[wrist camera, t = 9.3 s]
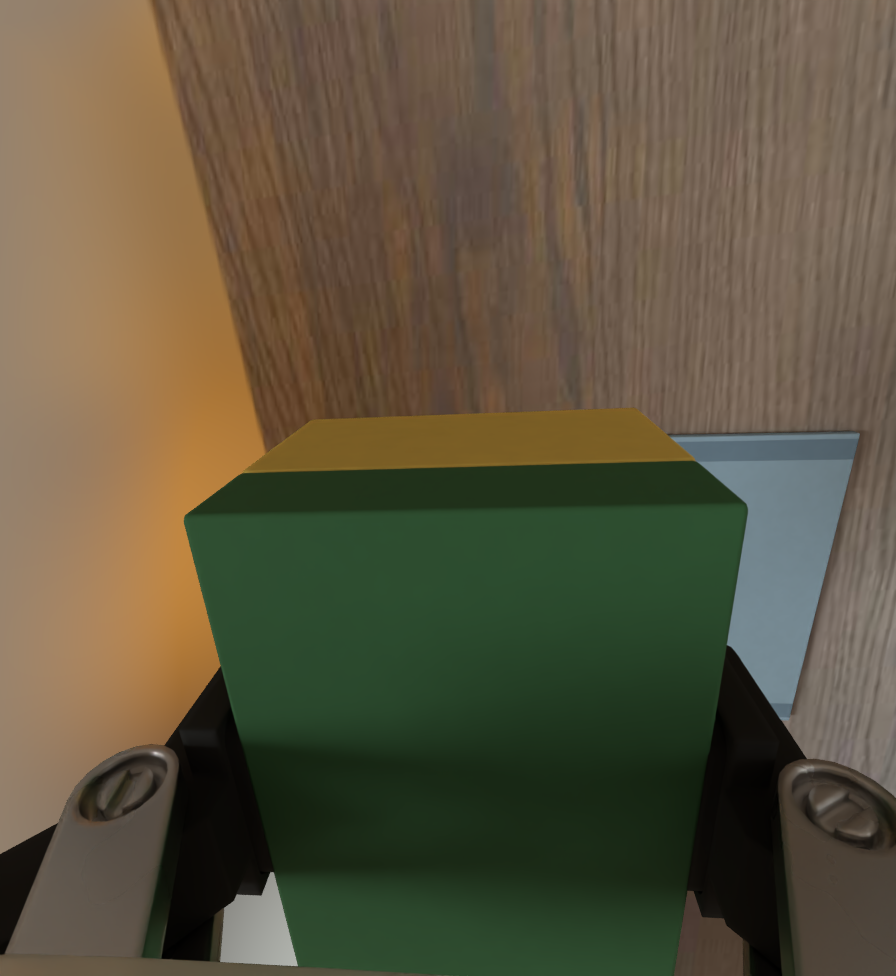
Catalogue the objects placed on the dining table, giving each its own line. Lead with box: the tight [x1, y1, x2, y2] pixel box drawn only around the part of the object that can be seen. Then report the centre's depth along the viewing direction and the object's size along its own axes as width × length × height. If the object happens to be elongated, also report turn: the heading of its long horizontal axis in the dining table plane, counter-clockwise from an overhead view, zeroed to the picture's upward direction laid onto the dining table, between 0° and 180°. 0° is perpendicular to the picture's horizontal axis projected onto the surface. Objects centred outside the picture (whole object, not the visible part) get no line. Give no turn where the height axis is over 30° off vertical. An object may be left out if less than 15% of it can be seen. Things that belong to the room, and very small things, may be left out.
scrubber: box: [184, 408, 748, 976], centre depth 9 cm, size 9×6×4 cm, turn 3°
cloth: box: [668, 431, 860, 720], centre depth 26 cm, size 12×16×1 cm
